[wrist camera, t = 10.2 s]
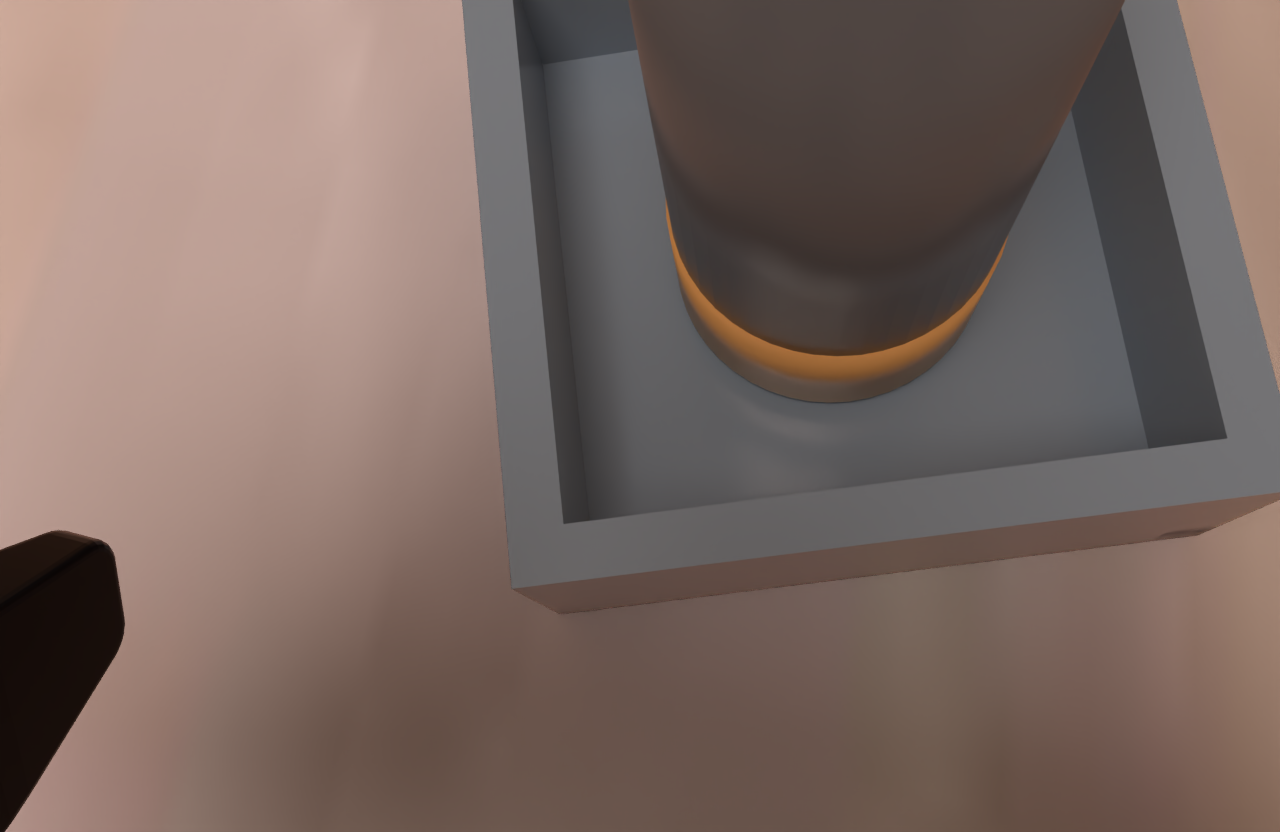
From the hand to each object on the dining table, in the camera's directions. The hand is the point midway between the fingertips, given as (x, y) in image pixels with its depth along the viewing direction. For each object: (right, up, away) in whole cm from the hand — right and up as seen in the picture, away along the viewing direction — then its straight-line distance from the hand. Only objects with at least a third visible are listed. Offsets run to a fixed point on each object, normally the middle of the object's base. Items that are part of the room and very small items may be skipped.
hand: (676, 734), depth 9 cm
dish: (+3, +5, +13) cm, 14 cm away
